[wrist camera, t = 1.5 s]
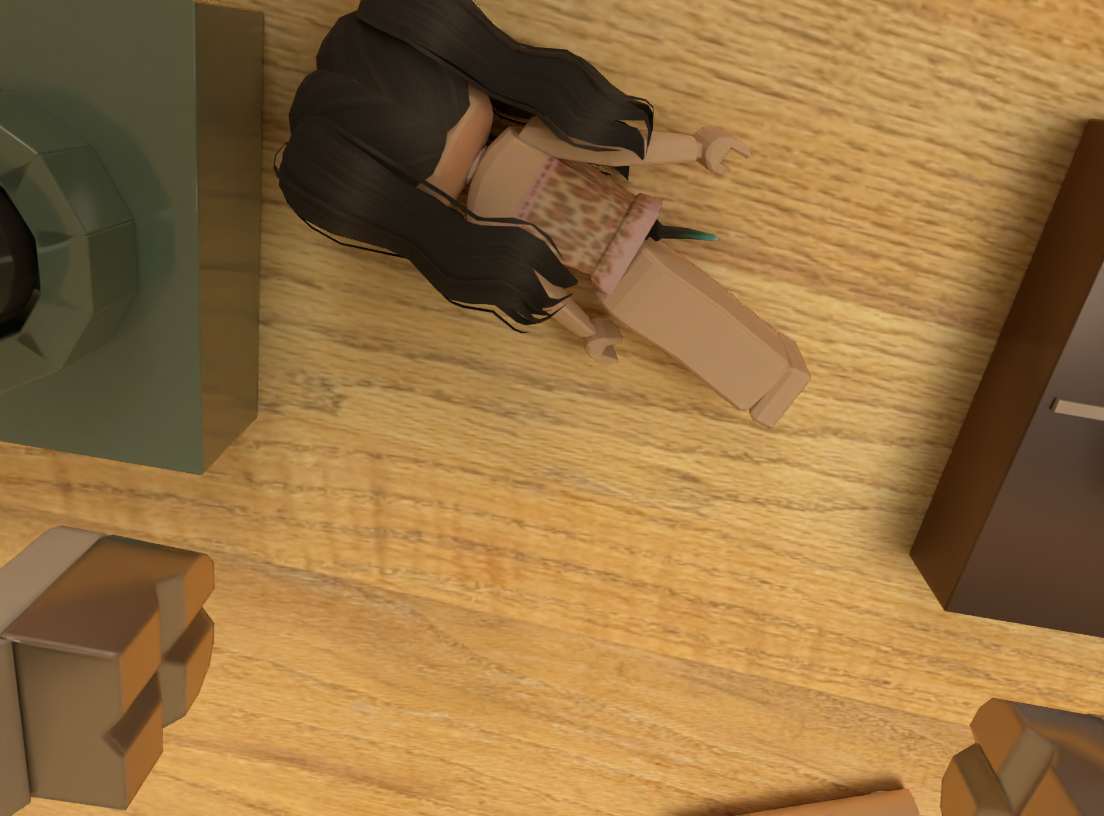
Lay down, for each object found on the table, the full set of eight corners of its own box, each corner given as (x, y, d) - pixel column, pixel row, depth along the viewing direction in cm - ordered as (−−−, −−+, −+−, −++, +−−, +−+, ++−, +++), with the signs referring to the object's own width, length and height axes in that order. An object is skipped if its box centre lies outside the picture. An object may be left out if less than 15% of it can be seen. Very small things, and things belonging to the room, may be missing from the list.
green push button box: (-114, -57, 21) (-367, -100, 15) (264, 11, 21) (146, -7, 16) (-50, 365, 26) (-225, 447, 20) (258, 417, 26) (166, 513, 20)
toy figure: (875, 205, 22) (382, -76, 20) (957, 291, 17) (296, -78, 14) (733, 396, 26) (297, 180, 23) (765, 518, 21) (202, 256, 18)
